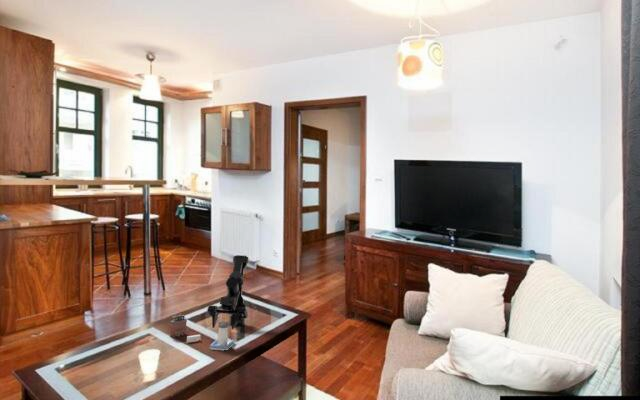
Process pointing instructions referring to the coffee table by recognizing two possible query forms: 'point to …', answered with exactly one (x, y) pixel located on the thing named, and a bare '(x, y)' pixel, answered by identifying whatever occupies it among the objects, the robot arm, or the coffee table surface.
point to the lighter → (178, 325)
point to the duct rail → (193, 338)
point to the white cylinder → (223, 334)
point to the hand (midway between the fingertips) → (222, 328)
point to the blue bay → (218, 347)
